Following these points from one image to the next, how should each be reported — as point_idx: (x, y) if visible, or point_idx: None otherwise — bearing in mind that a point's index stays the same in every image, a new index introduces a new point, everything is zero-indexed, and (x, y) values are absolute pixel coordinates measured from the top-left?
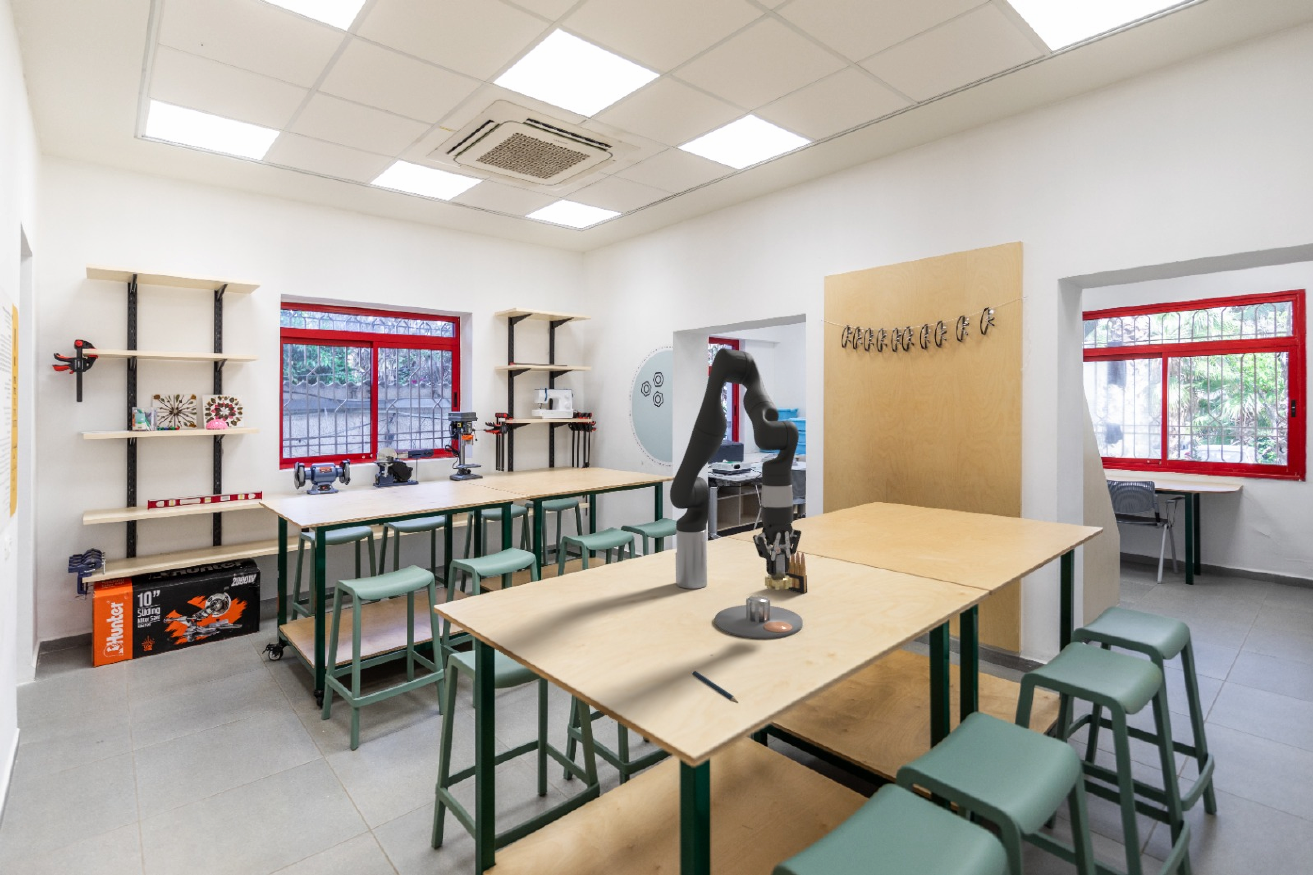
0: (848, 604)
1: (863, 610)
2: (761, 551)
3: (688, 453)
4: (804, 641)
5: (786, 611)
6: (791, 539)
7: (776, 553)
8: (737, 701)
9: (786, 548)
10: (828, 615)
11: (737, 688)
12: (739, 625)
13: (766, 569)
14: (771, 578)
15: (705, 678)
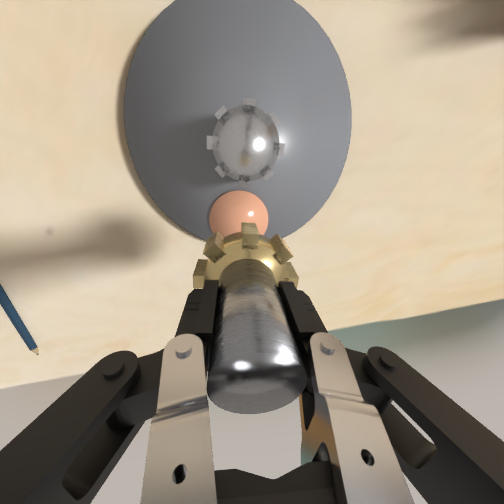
0: (476, 190)
1: (449, 231)
2: (90, 416)
3: None
4: None
5: (335, 153)
6: (471, 500)
7: (249, 384)
8: (37, 354)
9: (301, 457)
10: (385, 211)
11: (52, 331)
12: (171, 156)
13: (187, 299)
14: (219, 275)
15: (1, 302)
